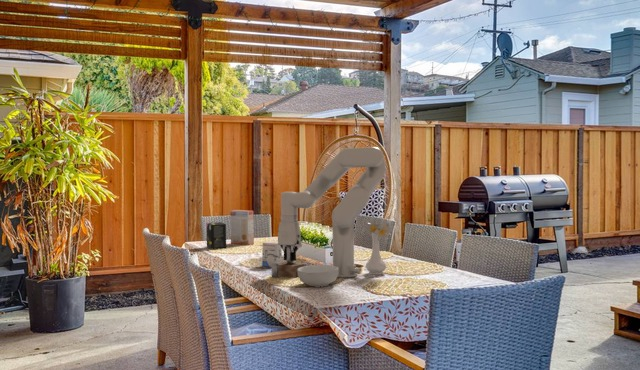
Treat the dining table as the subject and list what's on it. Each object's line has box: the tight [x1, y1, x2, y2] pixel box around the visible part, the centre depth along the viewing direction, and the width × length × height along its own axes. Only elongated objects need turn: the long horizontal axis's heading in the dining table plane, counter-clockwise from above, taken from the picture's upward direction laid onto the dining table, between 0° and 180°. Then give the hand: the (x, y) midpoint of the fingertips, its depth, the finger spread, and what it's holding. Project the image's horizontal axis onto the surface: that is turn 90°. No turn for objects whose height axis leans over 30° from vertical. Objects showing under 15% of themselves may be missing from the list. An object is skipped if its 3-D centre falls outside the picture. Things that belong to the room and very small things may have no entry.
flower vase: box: [360, 217, 393, 276], centre depth 267 cm, size 13×18×25 cm
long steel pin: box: [286, 245, 294, 265], centre depth 266 cm, size 3×3×14 cm
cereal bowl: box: [297, 264, 339, 288], centre depth 244 cm, size 17×17×7 cm
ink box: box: [261, 240, 283, 268], centre depth 290 cm, size 9×5×12 cm, turn 62°
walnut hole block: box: [278, 261, 305, 278], centre depth 266 cm, size 10×8×5 cm
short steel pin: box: [270, 263, 279, 278], centre depth 262 cm, size 3×3×6 cm
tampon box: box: [206, 221, 227, 250], centre depth 352 cm, size 11×9×15 cm
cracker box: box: [229, 209, 255, 246], centre depth 367 cm, size 14×6×21 cm, turn 58°
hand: (289, 259), depth 266 cm, fingers closed on long steel pin, 3 cm apart
